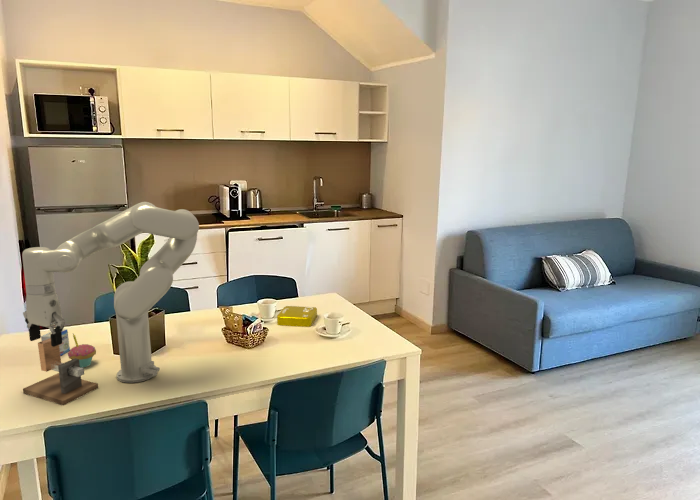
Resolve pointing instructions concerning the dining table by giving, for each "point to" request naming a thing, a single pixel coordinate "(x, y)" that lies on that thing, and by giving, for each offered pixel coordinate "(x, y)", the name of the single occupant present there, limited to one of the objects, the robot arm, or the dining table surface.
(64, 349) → the medicine box
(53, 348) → the tan grey angled piece
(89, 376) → the dining table surface
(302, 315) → the element tile
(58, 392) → the eye board
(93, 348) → the cupcake
